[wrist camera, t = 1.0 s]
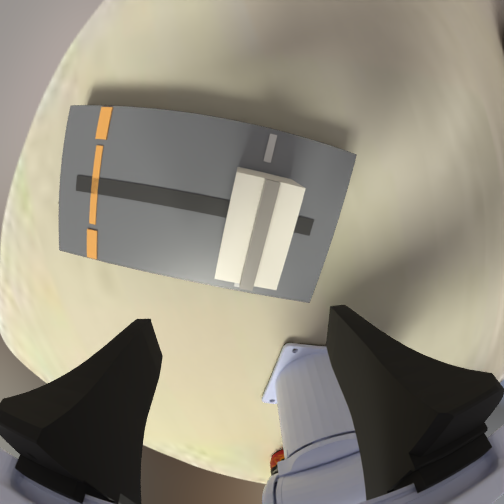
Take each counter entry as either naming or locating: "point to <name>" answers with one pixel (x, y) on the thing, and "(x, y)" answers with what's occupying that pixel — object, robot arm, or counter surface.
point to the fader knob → (258, 229)
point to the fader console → (188, 191)
